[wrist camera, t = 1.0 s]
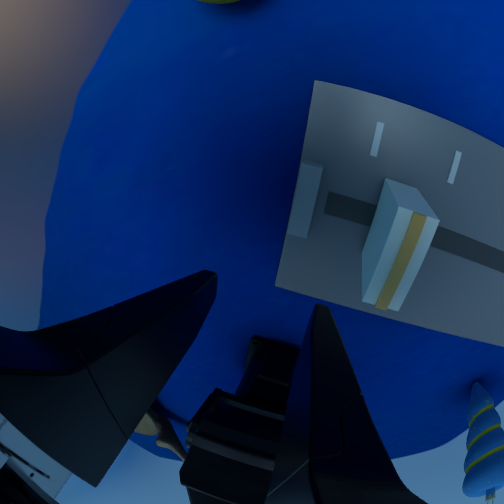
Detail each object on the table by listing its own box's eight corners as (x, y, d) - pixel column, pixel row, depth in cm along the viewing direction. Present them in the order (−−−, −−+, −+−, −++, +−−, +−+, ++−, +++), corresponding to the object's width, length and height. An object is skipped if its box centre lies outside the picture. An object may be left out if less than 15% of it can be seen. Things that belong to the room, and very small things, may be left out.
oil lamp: (66, 316, 40) (37, 344, 34) (216, 422, 40) (196, 460, 33) (73, 368, 53) (54, 390, 47) (182, 444, 52) (167, 470, 46)
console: (513, 336, 18) (522, 357, 15) (281, 271, 23) (270, 293, 20) (580, 204, 10) (599, 218, 8) (318, 83, 15) (312, 78, 13)
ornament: (447, 393, 23) (449, 518, 11) (472, 363, 20) (489, 501, 8) (478, 396, 22) (487, 511, 10) (504, 368, 19) (525, 491, 7)
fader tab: (390, 261, 17) (398, 314, 13) (361, 252, 17) (362, 303, 13) (416, 188, 14) (441, 222, 10) (385, 177, 15) (399, 208, 10)
